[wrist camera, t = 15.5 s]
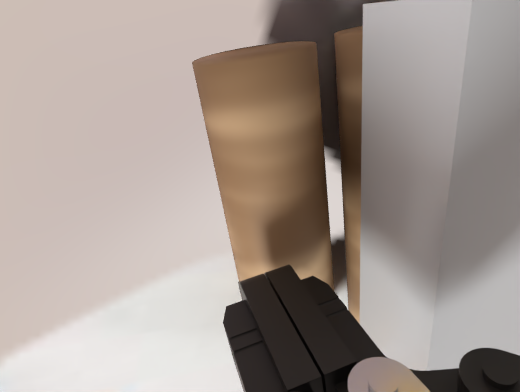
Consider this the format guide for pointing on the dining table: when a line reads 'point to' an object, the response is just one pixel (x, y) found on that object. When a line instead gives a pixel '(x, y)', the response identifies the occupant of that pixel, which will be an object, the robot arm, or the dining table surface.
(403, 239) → the slab
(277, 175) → the roller
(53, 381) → the dining table surface
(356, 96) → the roller
